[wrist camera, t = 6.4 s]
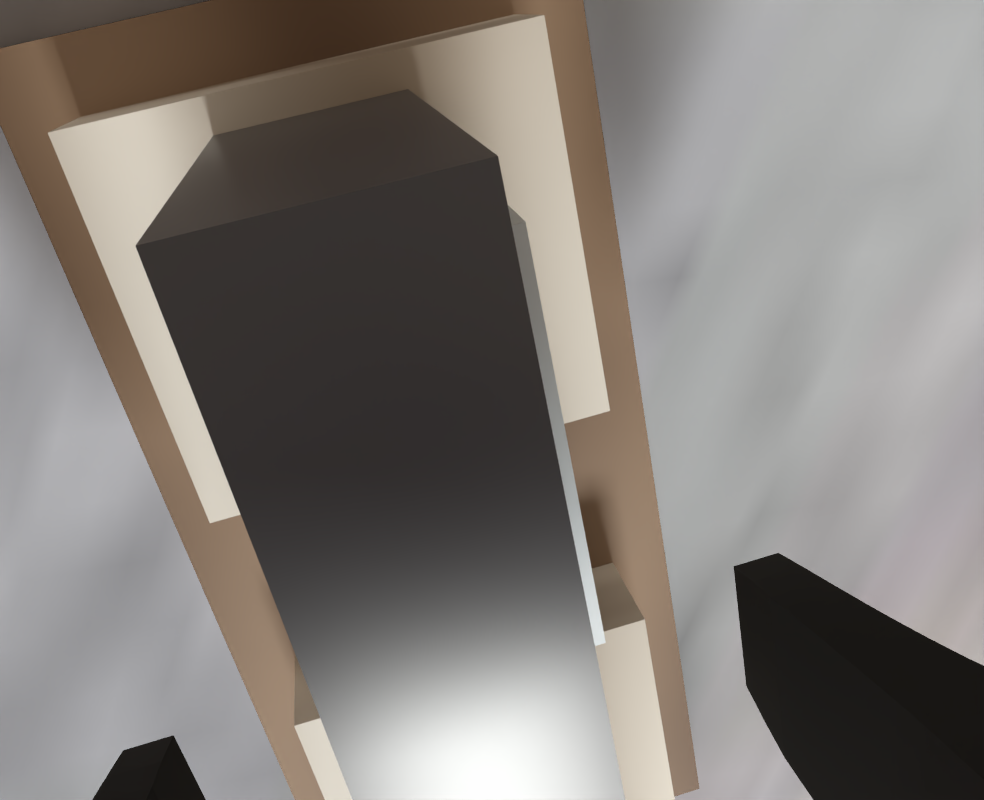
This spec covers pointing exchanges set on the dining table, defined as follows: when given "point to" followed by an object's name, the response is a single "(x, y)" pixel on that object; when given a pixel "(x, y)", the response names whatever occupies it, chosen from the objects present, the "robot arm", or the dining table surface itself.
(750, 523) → the dining table surface
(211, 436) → the grey upright panel
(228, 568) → the display stand
